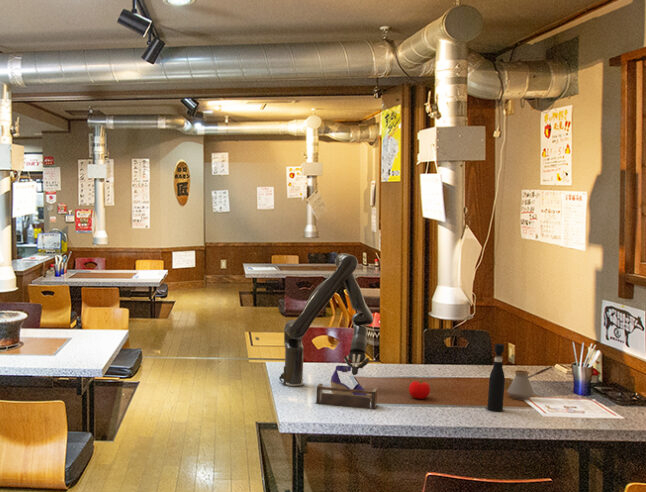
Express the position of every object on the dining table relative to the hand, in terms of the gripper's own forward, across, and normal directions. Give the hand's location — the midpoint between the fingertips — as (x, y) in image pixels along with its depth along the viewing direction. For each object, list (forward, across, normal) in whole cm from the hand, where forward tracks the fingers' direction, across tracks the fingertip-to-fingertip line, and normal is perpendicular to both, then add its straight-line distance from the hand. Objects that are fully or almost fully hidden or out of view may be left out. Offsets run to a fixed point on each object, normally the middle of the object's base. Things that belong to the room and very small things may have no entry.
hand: (354, 374), depth 371 cm
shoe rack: (+23, 0, -11) cm, 26 cm away
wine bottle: (+13, +64, 0) cm, 65 cm away
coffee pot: (-6, +80, +20) cm, 83 cm away
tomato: (+7, +31, +6) cm, 32 cm away
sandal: (+12, 0, 0) cm, 13 cm away
